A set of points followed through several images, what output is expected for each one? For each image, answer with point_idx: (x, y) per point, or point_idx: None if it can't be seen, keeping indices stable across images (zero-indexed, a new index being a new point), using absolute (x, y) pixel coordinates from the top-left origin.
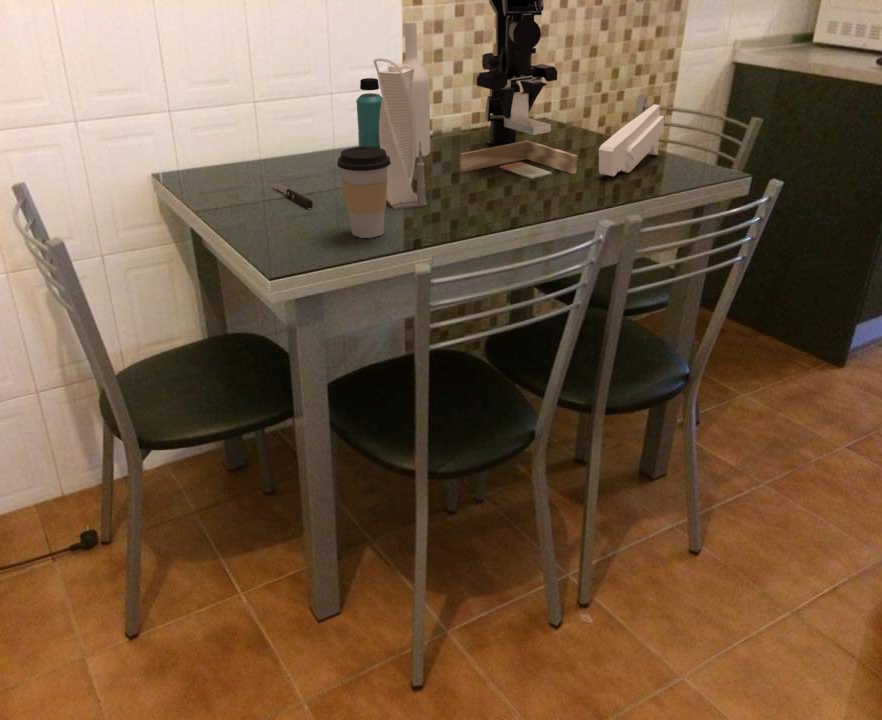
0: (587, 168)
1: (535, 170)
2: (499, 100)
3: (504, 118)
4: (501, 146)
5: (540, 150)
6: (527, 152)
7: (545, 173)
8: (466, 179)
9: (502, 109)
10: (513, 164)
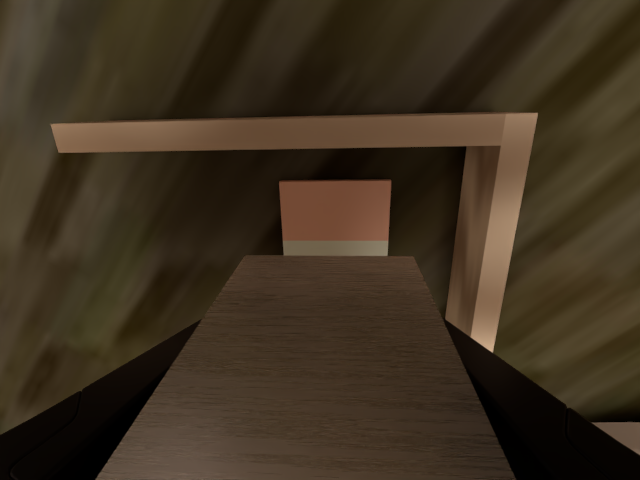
0: (532, 367)
1: None
2: (38, 416)
3: (227, 286)
4: (317, 137)
5: (475, 247)
6: (478, 147)
7: None
8: (92, 228)
9: (150, 354)
10: (340, 197)
